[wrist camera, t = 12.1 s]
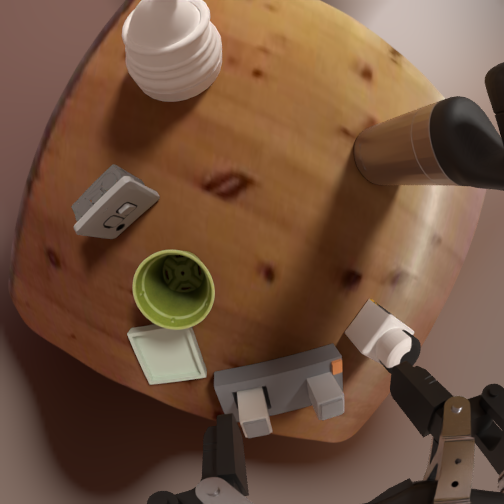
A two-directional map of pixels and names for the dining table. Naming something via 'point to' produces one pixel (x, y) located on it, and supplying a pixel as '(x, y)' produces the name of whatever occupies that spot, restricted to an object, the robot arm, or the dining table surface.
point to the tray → (167, 354)
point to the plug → (253, 412)
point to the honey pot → (172, 48)
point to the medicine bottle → (383, 336)
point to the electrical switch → (112, 204)
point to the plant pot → (173, 289)
